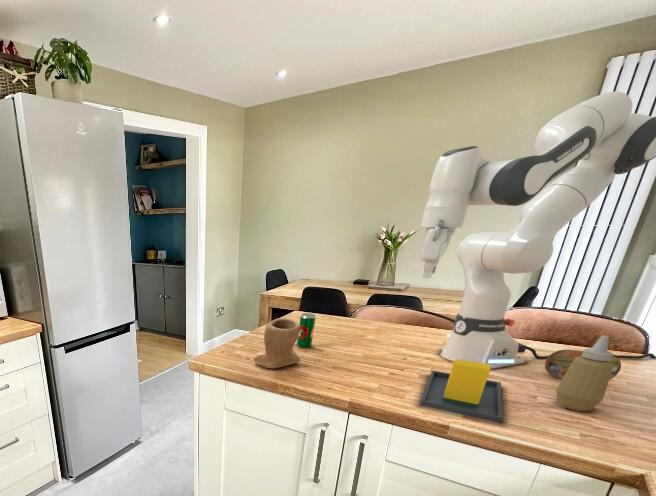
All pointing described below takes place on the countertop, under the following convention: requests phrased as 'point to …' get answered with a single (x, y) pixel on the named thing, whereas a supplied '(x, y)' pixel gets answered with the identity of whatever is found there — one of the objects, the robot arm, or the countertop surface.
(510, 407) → the countertop surface
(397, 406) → the countertop surface
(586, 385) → the squeeze bottle
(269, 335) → the stone cup
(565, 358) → the tin
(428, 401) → the tray
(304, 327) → the soda can
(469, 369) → the sponge
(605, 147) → the robot arm
